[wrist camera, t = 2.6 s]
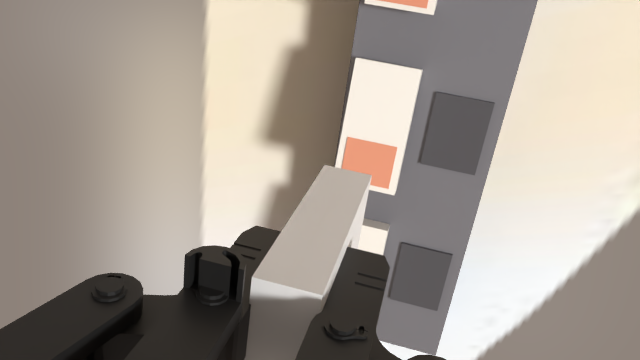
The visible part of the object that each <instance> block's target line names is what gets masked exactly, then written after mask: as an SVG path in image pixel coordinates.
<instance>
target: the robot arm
mask: <svg viewBox="0 0 640 360" xmlns="http://www.w3.org/2000/svg"><path fill="white" fill-rule="evenodd" d="M371 177H372V175H369V174H364V173H360V172H355V171H350V170H346V169H341V168H337V167H332V166H328V165H324V166H323V168H322V170H321V171H320V173H319V174H318V176H317V177H316V179H315V180H314V182H313V183H312V185H311V186H310V188H309V190H308V191H307V193H306V194H305V196H304V197H303V199H302V200H301V202H300V203H299V205H298V207H297V208H296V210H295V211H294V213H293V214H292V216H291V217H290V219H289V220H288V222H287V223H286V225H285V227H284V228H283V230H282V231H281V232H280V231H276V230H272V229H267V228H263V227H259V226H255V227H253V228H251V229H249V230H247V231H245V232H243V233H241V235H240V236H239V237H238V239H237V240H236V241H235V242H234V245H232V246H231V248H227V247H222V246H202V247H199V248H196V249H193V250H191V251H190V252H188V253H187V254H186V255H185V265H184V266H185V267H184V287H183V289H182V290H181V291H180V292H179V294H178V295H167V296H163V295H143V288H142V285H141V283H140V282H139V281H138V280H137V279H136V278H134V277H132V276H129V275H126V274H122V273H107V274H102V275H97V276H94V277H92V278H90V279H87V280H85V281H84V282H82V283H80V284H78V285H76V286H75V287H73V288H71V289H69V290H68V291H66V292H64V293H63V294H61V295H59V296H57V297H56V298H54V299H52V300H50V301H49V302H47V303H45V304H43V305H42V306H40V307H38V308H36V309H35V310H33V311H31V312H29V313H28V314H26V315H24V316H23V317H21V318H19V319H17V320H16V321H14V322H12V323H10V324H8V325H7V326H5V327H3V328H2V329H0V360H401V359H400V358H398V357H396V356H395V355H393V354H392V353H390V352H389V351H388V350H387V349H386V348H385V347H383V345H382V344H381V343H380V341H379V340H378V337H377V334H376V328H377V324H378V319H379V315H380V311H381V306H382V302H383V297H384V293H385V288H386V284H387V279H388V275H389V270H390V267H389V264H388V262H387V260H386V258H385V256H384V255H380V254H376V253H372V252H368V251H364V250H359V249H358V245H359V240H360V234H361V229H362V224H363V219H364V214H365V208H366V203H367V198H368V193H369V187H370V182H371ZM408 360H446V359H444V358H441V357H437V356H433V355H417V356H414V357H412V358H410V359H408Z"/></svg>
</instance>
